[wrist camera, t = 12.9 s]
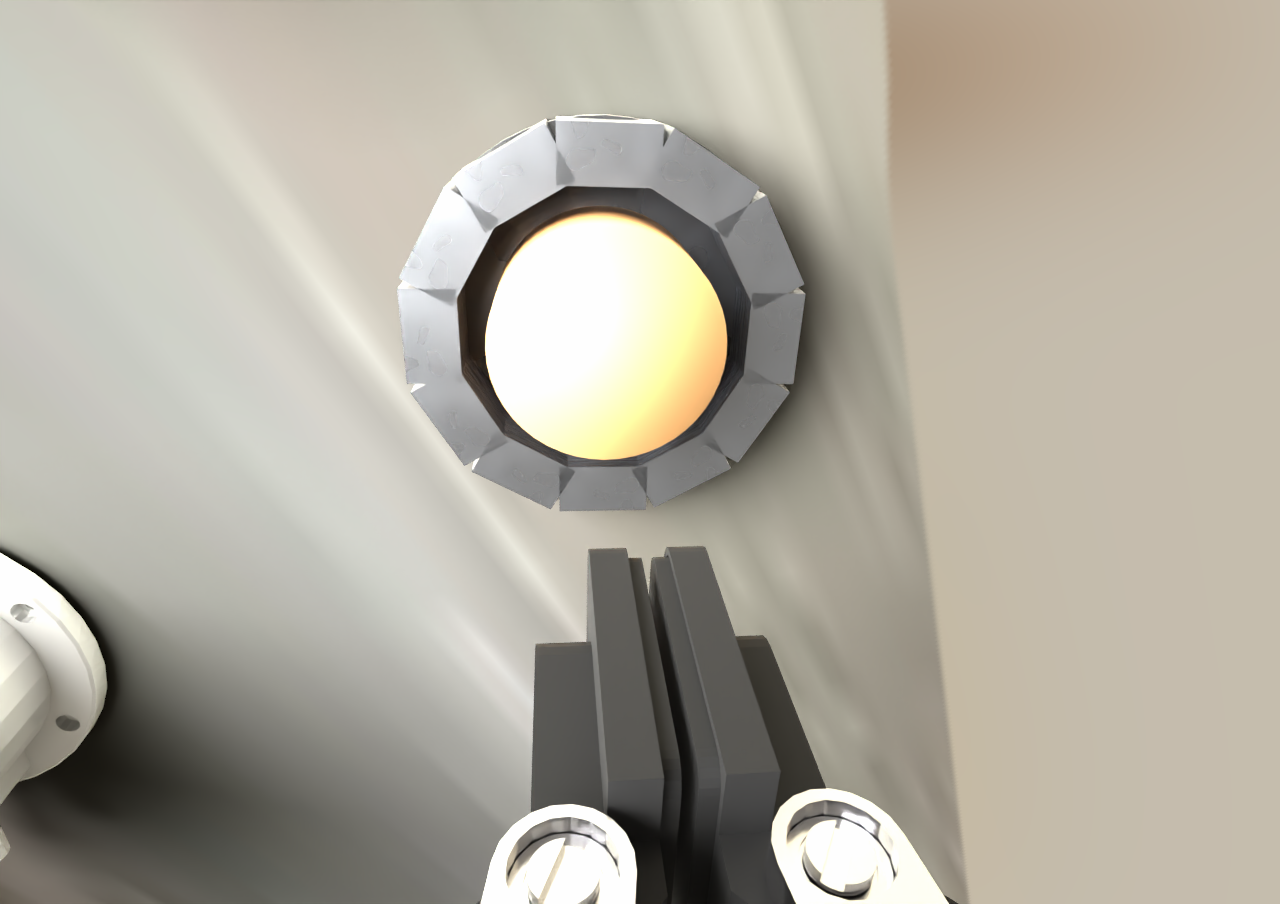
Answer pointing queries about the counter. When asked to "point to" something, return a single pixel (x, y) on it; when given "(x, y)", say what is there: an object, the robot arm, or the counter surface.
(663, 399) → the pale yellow rounded lump
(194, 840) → the counter surface
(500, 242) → the faceted metal bowl
